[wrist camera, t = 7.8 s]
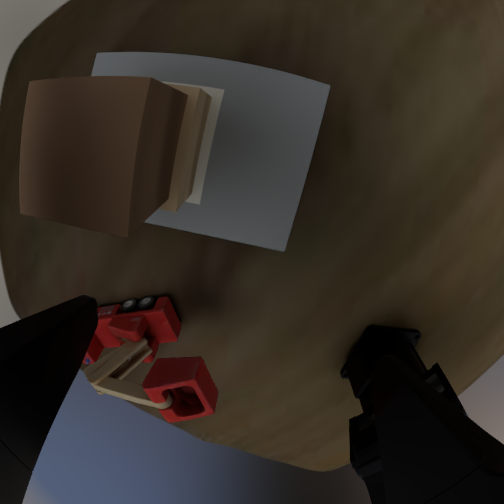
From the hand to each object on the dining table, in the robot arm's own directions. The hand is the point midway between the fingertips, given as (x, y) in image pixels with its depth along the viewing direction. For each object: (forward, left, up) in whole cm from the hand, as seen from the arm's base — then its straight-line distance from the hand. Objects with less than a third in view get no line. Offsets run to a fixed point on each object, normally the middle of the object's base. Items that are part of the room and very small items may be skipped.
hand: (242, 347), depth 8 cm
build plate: (+5, -4, -12) cm, 13 cm away
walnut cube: (+7, -4, -7) cm, 10 cm away
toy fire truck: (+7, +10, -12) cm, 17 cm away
